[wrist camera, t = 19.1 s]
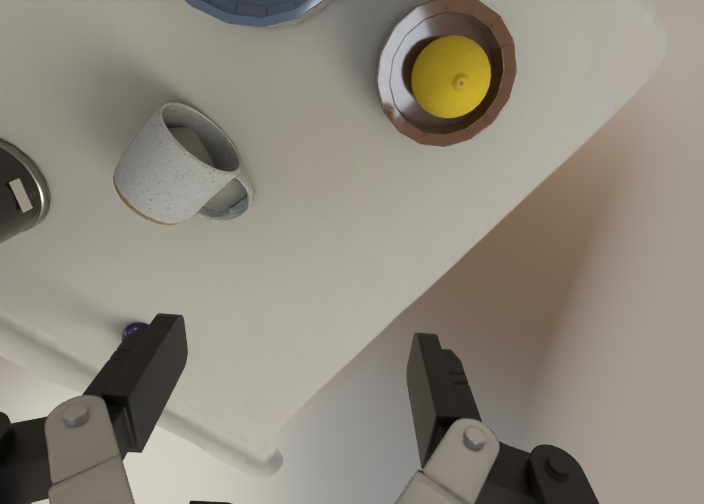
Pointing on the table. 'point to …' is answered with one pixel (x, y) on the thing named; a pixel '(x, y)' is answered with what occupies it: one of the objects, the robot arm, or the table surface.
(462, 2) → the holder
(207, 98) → the table surface
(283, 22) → the bowl
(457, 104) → the lemon
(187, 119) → the ceramic mug
